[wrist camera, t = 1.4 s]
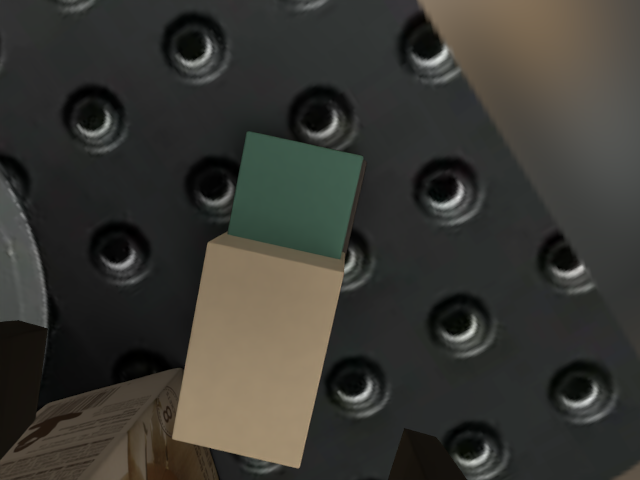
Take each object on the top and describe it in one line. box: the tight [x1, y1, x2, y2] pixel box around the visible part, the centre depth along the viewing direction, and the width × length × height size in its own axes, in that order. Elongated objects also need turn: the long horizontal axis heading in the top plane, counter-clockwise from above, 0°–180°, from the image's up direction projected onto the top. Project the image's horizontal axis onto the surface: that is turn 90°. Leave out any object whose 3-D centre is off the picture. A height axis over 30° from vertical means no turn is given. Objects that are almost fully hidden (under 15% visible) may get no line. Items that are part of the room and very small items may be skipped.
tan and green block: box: [172, 131, 367, 468], centre depth 17 cm, size 11×4×5 cm, turn 168°
